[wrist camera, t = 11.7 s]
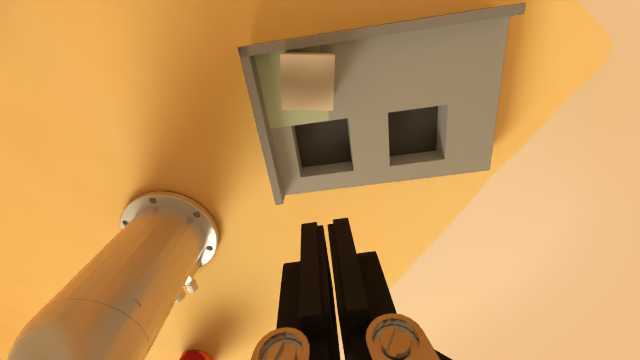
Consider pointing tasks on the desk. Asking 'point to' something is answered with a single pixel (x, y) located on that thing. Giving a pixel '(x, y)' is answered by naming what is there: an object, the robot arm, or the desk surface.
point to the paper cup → (195, 356)
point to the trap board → (385, 102)
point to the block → (307, 80)
